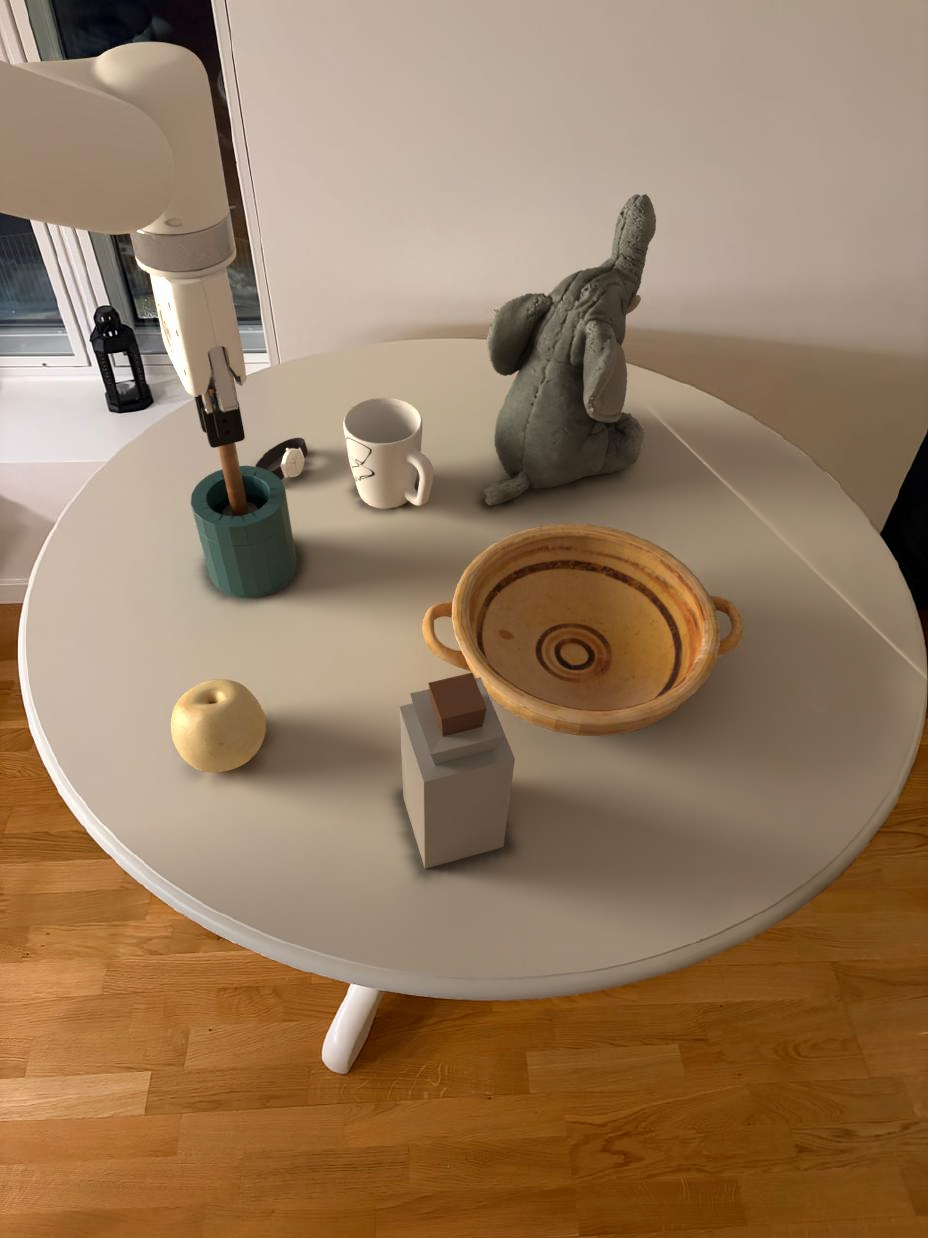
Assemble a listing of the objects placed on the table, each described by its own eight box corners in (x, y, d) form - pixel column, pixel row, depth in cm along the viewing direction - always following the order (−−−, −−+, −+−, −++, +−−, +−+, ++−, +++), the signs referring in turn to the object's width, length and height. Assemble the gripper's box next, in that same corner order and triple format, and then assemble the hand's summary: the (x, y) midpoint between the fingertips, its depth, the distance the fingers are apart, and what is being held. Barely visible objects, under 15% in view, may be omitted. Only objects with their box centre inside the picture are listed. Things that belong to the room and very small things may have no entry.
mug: (456, 504, 102) (458, 432, 95) (403, 540, 98) (401, 468, 91) (387, 458, 108) (384, 387, 100) (334, 491, 103) (326, 419, 96)
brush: (235, 565, 91) (198, 398, 76) (225, 543, 93) (187, 376, 78) (270, 555, 92) (240, 388, 77) (259, 533, 94) (228, 366, 79)
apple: (204, 805, 76) (150, 739, 72) (202, 755, 83) (154, 693, 79) (285, 758, 76) (237, 691, 73) (277, 713, 83) (232, 649, 80)
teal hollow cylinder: (223, 609, 91) (205, 537, 83) (199, 552, 96) (180, 480, 89) (308, 582, 94) (297, 510, 86) (280, 528, 99) (268, 456, 92)
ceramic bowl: (696, 574, 96) (713, 518, 90) (758, 769, 80) (785, 717, 74) (419, 580, 94) (418, 524, 88) (426, 781, 78) (426, 729, 72)
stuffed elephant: (617, 399, 117) (655, 186, 97) (650, 506, 103) (704, 285, 83) (470, 402, 116) (478, 187, 95) (484, 511, 102) (497, 287, 81)
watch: (279, 495, 103) (275, 470, 100) (246, 481, 104) (241, 456, 101) (318, 458, 107) (315, 433, 104) (286, 445, 109) (283, 421, 106)
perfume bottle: (403, 799, 77) (397, 669, 64) (478, 779, 79) (488, 648, 65) (424, 869, 73) (423, 746, 59) (503, 847, 74) (519, 722, 61)
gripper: (110, 202, 72) (161, 398, 85) (158, 294, 62) (206, 497, 76) (203, 187, 74) (238, 380, 88) (263, 274, 65) (291, 474, 79)
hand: (223, 434), depth 82 cm, fingers closed on brush
